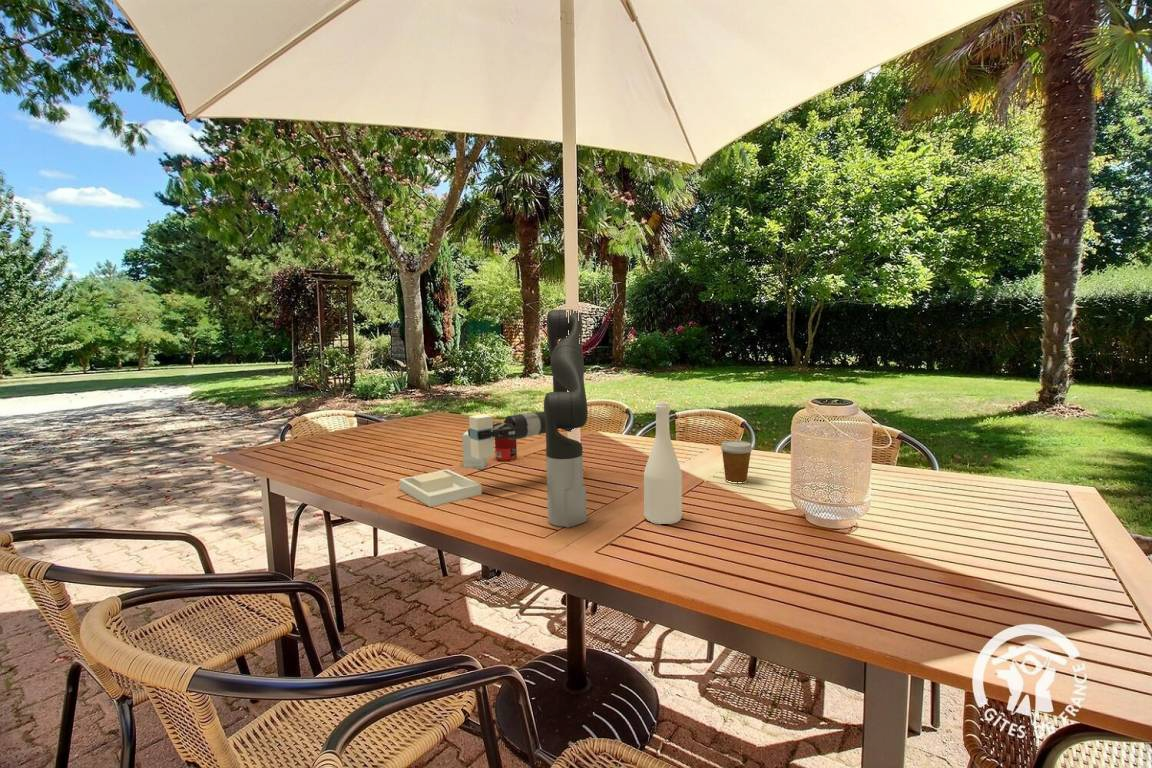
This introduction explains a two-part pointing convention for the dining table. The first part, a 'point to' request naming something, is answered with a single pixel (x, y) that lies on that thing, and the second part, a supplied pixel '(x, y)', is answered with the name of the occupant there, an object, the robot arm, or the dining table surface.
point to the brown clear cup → (736, 460)
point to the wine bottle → (662, 475)
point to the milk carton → (481, 446)
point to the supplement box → (467, 458)
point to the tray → (443, 490)
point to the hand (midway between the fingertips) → (473, 434)
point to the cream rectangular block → (433, 481)
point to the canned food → (505, 449)
